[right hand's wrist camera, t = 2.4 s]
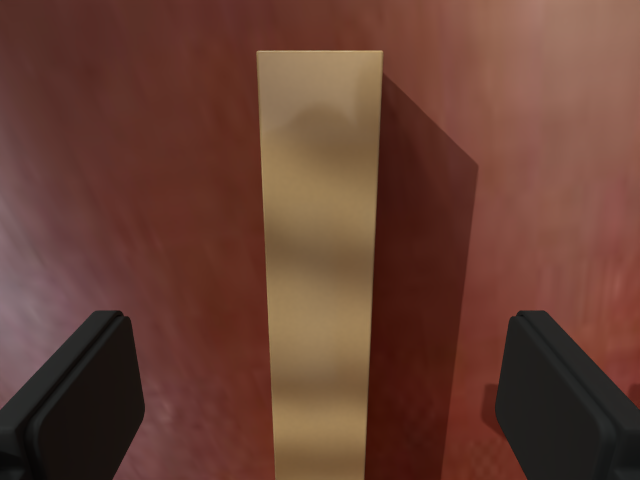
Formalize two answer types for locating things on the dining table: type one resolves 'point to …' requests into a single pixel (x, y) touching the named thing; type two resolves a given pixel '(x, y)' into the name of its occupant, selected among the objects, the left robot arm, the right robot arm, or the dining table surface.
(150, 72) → the dining table surface
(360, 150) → the post
